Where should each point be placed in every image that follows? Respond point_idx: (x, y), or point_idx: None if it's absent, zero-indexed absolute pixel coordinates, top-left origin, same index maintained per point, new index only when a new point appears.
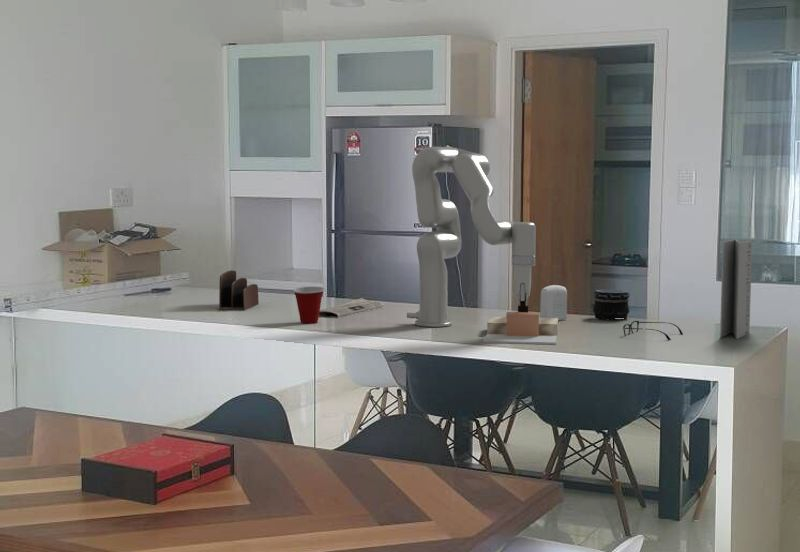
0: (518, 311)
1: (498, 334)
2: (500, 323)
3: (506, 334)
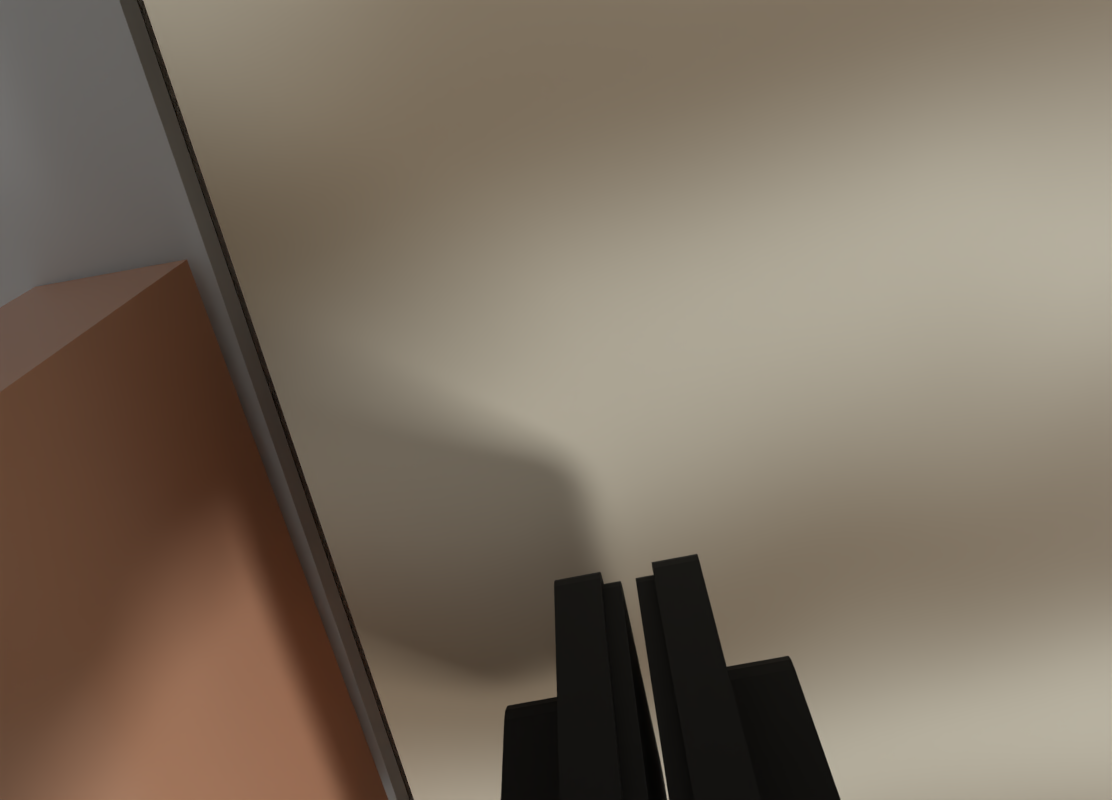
0: (566, 718)
1: (87, 72)
2: (187, 110)
3: (21, 297)
